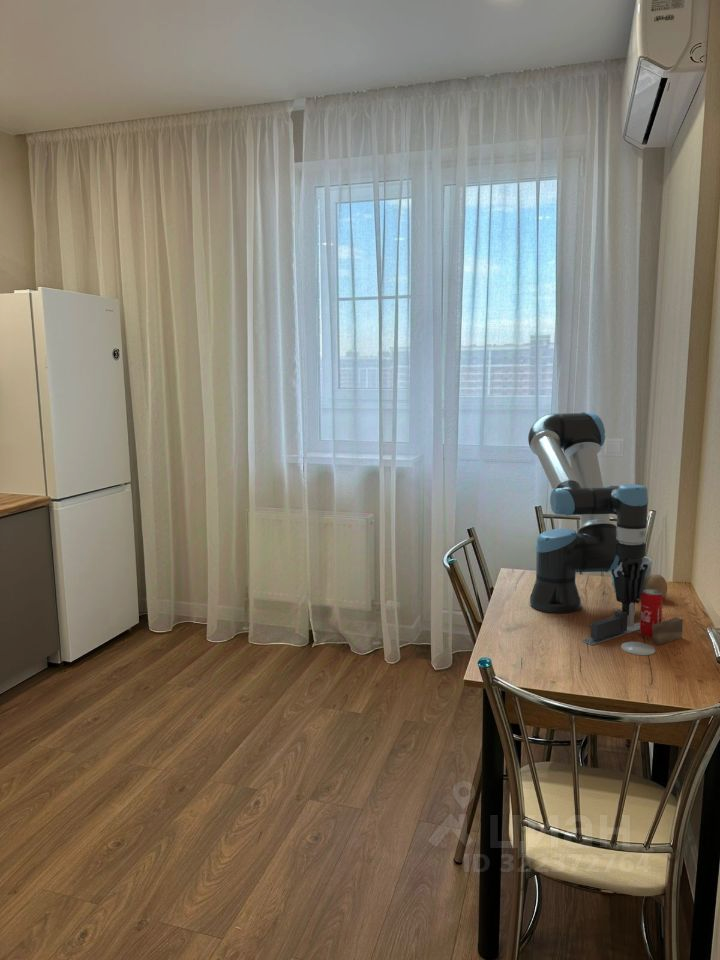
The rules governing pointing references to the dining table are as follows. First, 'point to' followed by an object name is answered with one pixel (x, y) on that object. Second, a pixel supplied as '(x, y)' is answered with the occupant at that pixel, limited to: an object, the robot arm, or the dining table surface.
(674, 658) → the dining table surface
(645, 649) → the coaster
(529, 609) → the dining table surface
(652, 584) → the egg
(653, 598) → the beverage can
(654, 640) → the block
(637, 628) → the rail
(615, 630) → the dark grey block
